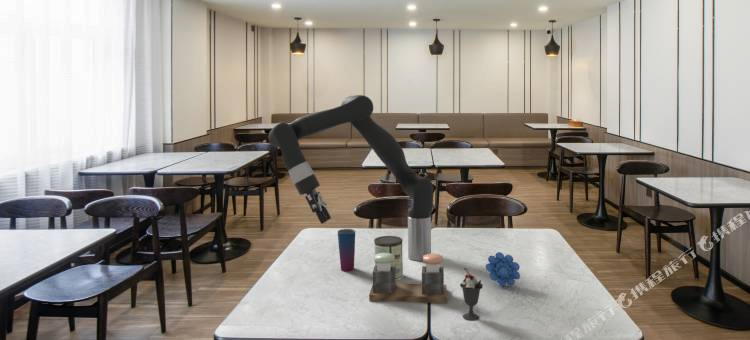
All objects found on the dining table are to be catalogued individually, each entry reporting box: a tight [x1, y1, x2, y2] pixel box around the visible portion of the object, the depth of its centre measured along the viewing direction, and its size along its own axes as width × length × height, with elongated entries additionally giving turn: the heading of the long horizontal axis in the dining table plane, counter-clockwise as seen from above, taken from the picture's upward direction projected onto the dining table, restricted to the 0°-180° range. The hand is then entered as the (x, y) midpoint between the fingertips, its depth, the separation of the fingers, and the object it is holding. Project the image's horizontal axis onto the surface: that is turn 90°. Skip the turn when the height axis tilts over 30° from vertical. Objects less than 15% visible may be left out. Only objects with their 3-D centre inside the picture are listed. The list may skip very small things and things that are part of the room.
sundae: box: [459, 267, 483, 322], centre depth 156 cm, size 7×7×15 cm
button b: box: [422, 253, 444, 273], centre depth 172 cm, size 6×6×8 cm
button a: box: [374, 253, 394, 272], centre depth 174 cm, size 6×6×8 cm
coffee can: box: [373, 235, 404, 282], centre depth 191 cm, size 10×10×14 cm
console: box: [368, 264, 448, 304], centre depth 174 cm, size 25×11×9 cm, turn 83°
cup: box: [337, 228, 356, 272], centre depth 200 cm, size 7×7×15 cm
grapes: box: [485, 251, 521, 287], centre depth 179 cm, size 12×7×12 cm, turn 80°
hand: (326, 221), depth 175 cm, fingers open, 8 cm apart
